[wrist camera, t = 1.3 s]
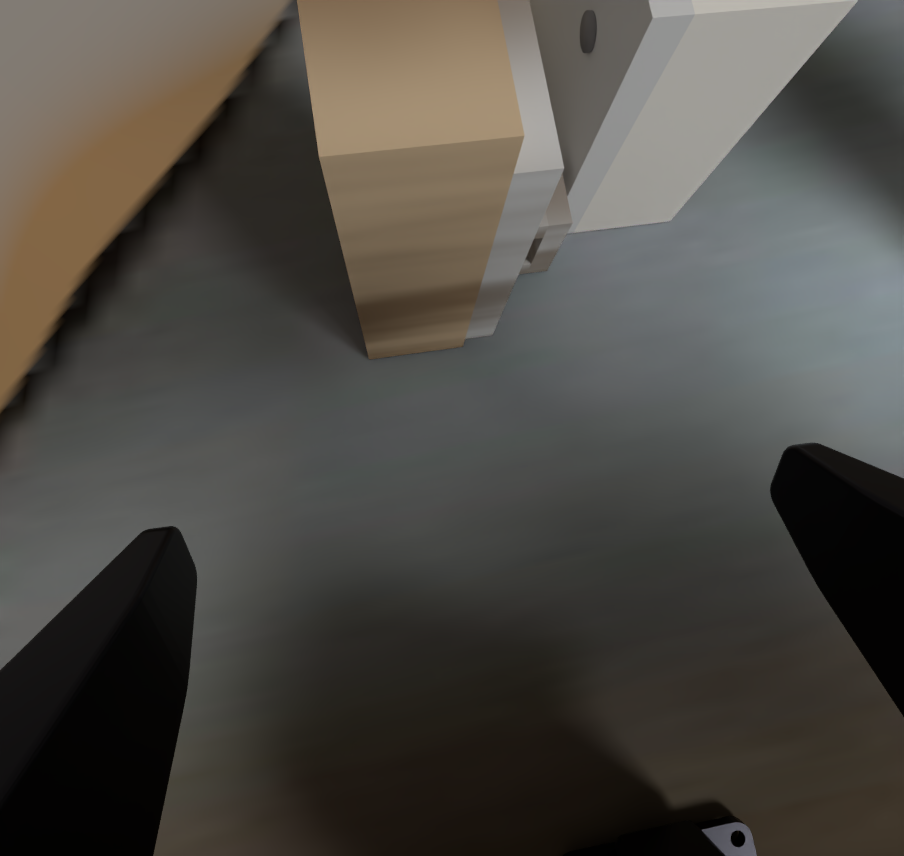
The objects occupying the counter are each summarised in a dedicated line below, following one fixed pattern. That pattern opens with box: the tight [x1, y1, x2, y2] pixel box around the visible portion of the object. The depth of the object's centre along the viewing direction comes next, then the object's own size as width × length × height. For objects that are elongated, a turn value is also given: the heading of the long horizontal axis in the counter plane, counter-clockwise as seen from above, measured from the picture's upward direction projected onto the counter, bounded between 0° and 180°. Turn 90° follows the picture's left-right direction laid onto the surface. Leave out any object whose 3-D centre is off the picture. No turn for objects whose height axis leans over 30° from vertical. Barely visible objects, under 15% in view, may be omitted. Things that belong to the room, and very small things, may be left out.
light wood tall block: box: [297, 0, 573, 359], centre depth 16 cm, size 5×7×12 cm
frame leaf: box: [529, 0, 858, 234], centre depth 19 cm, size 9×9×10 cm
